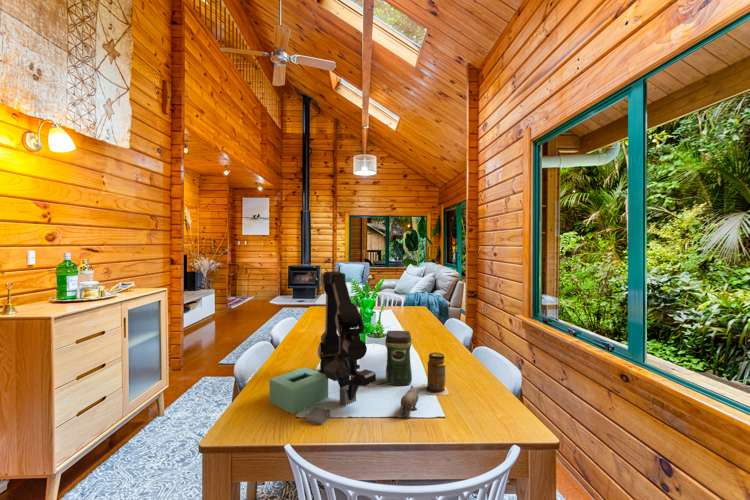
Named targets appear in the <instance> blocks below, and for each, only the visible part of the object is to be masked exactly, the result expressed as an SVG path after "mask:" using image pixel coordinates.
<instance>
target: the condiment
mask: <svg viewBox="0 0 750 500" xmlns="http://www.w3.org/2000/svg"><path fill="white" fill-rule="evenodd" d="M423 385H424V389H425V391H426V392H427V394H428V395H435V396H436V395H437V396H439V395H441V396H442V395H447V396H448V395H450V393H449V391H448V389H447V387H446V362H445V355H444V354H443V353H441V352H435V351H434V352H430V353H429V355H428V362H427V383H424V384H423Z"/></svg>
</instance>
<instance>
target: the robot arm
mask: <svg viewBox="0 0 750 500" xmlns="http://www.w3.org/2000/svg"><path fill="white" fill-rule="evenodd" d="M319 278H320V284H321V288H322V289H323V291H324V292H325V321H324V322H325V324H324V325H325V326H324V329H325V330H324V332H323V333H322V335H321V336H320V342H319V344H318V346H317V347H318V348H317V356H318V358H319V359H320V361H319V370H318V371H317V372H320V373H322V374H325V375H326V378H327V379H328V380H332V381H333V382H337V383H338V386H339V389H340V388H342V387H344V386H346V385H349V400H350V401H351V400H353V398H354V396H355V393H356V394H357V391H358V389H359V387H360V386H361V387H365V386H368V385H370V384H372V383H374V382H377V374H376V373H375V372H374V371H373V370H368V369H363V370H361V371H360V368H361V365H360V364H359V363H358V360H361V359H362V358H364V357H365V356H366V354H367V349H368V348H367V344H366V343H365V342H364V341H363V340H362V339H361V335H360V334H365V324H364V321H363V320H364V319H363V316H362V314H361V313H360V311H359V309H358V306H357V305H355V304H354V303H353V302H352V301H351V297H350V293H349V289H348V285H347V282H346V273H345V272H341V271H339V270H337V271H324V272H323V273H322V274H321V275H320V277H319Z"/></svg>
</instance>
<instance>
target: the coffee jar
mask: <svg viewBox="0 0 750 500" xmlns="http://www.w3.org/2000/svg"><path fill="white" fill-rule="evenodd" d="M384 343H385V346H386V364H387V365H386V367H385V382H386V383H387V384H389V385H392V386H393V385H397V386H404V385H405V386H407V385H409V384H411V383H412V382H413V381H412V380H413V375H412V365H411V347H412V343H413V342H412V336H411V332H410V330H387V331H386V333H385V342H384Z"/></svg>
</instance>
